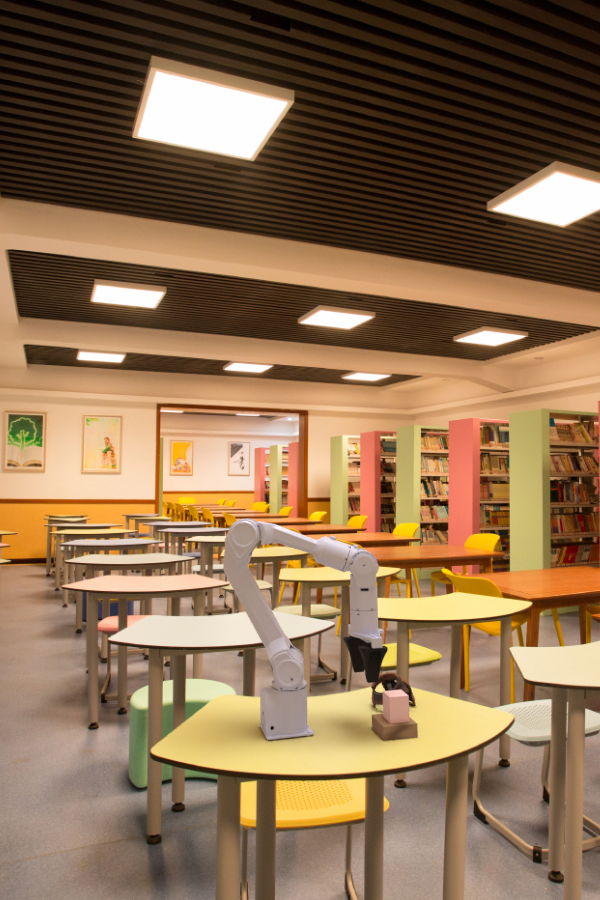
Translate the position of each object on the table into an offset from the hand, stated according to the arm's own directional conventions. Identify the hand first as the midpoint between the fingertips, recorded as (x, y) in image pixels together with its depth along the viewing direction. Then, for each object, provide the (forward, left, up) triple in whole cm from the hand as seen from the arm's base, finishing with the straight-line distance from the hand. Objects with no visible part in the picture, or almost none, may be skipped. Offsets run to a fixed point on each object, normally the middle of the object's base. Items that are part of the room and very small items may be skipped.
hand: (365, 676), depth 120 cm
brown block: (+5, -3, -11) cm, 12 cm away
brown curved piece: (+11, +13, -11) cm, 20 cm away
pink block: (+5, -3, -8) cm, 10 cm away
